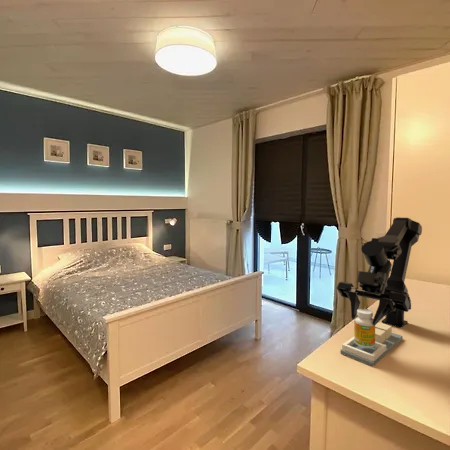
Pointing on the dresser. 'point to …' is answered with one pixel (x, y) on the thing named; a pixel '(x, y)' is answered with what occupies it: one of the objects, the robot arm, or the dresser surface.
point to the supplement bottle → (364, 328)
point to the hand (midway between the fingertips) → (362, 321)
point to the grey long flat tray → (376, 353)
